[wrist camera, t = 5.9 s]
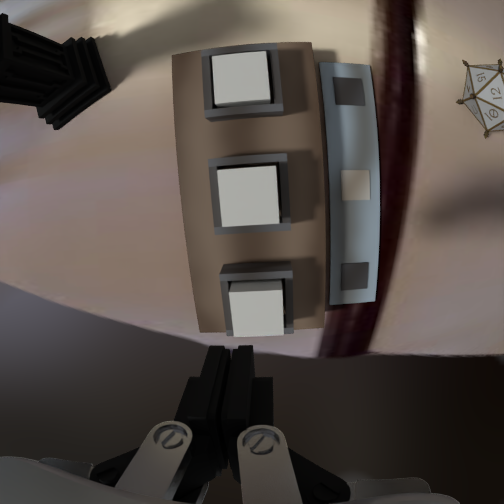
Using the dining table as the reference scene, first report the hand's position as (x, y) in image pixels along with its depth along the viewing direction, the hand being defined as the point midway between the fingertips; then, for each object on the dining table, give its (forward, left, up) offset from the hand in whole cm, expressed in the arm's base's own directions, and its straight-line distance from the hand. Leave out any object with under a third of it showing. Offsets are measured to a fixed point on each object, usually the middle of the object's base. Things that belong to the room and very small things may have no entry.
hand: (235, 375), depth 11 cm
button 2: (-8, -13, -15) cm, 21 cm away
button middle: (-3, -5, -14) cm, 15 cm away
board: (-6, -3, -18) cm, 19 cm away
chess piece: (+6, -27, -18) cm, 33 cm away
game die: (-30, -1, -19) cm, 35 cm away
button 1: (+1, +3, -14) cm, 14 cm away
